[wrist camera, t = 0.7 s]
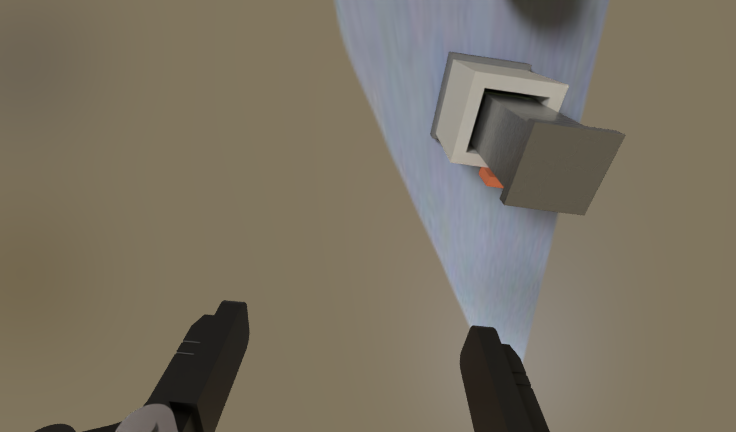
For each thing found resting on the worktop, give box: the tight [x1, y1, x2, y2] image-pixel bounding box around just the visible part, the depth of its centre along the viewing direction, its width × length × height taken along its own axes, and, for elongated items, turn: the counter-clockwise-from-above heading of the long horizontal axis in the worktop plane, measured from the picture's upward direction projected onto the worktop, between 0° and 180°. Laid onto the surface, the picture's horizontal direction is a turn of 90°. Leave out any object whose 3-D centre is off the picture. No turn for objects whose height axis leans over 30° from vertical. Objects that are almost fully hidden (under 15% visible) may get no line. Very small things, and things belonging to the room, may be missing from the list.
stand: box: [430, 52, 569, 188], centre depth 30 cm, size 8×8×12 cm
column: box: [469, 88, 625, 215], centre depth 26 cm, size 5×5×17 cm
